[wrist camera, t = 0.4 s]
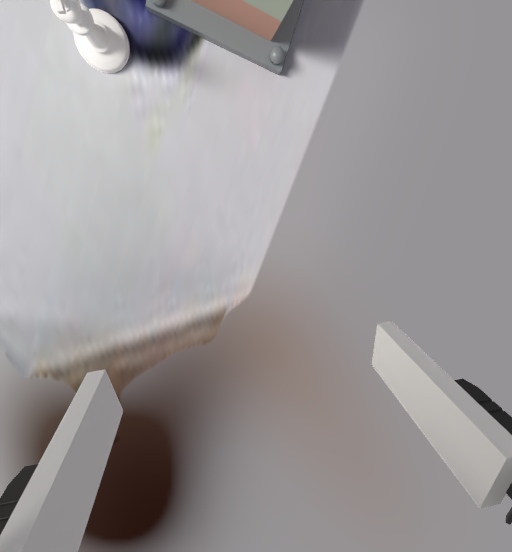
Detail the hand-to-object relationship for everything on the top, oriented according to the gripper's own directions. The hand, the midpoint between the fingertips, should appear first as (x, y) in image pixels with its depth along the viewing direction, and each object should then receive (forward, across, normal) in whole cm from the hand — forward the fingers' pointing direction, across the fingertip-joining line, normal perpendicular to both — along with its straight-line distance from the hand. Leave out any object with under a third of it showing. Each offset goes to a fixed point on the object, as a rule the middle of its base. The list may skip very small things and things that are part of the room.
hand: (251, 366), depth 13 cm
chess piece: (+26, -9, +20) cm, 34 cm away
